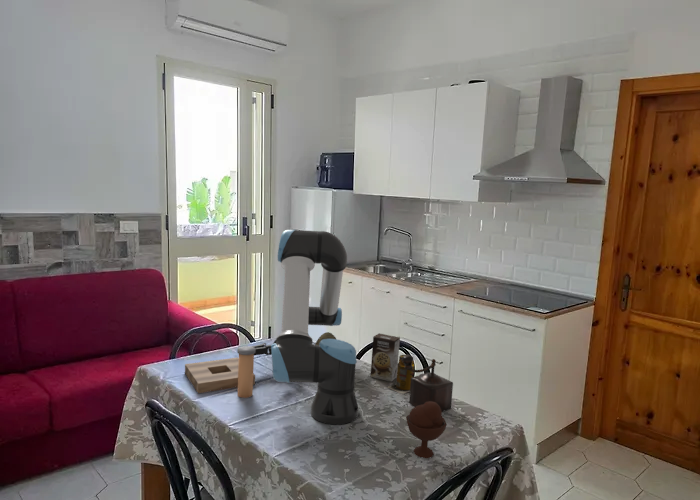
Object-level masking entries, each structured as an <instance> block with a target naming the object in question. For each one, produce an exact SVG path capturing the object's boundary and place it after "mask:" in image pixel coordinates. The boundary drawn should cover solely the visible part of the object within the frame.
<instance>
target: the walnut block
mask: <svg viewBox="0 0 700 500" xmlns="http://www.w3.org/2000/svg"><path fill="white" fill-rule="evenodd" d="M238 364H239V356H238V357H232V358H231V357H230V358H225V359H224V358H223V359H215V360H208V361H199V362H192V363H185V364H184V373H185V375H186V377H187V379H188V381H189V382H190V383H191V384H192V386H193V388H194V389H195V391H196V392H198V393H197V394H202V393H203V394H204V393H210V392H211V393H212V392H216V391H222V390H223V391H224V390H227V389H233V388H234V389H236V388H238ZM255 384H256V374H255V373H254V372H253V386H255Z"/></svg>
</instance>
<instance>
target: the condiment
mask: <svg viewBox="0 0 700 500" xmlns="http://www.w3.org/2000/svg"><path fill="white" fill-rule="evenodd" d="M405 355H406V354H400V355H399V356H398V367H397V377H396V381H395V382H396V384H393V385H389V386H387V388H388V389H390V390H392V391H394V392H397V393H398V394H401V395H404V394H406V393H410V386H411V377H414V373H415V372H412V371H410V370H406V369H405V368H404V367H405V364H404V363H403V362H402V358H403V356H405ZM414 358H415V357H413V362H412V366H413V368H412V369H414V370H415V364H414V361H415V359H414Z"/></svg>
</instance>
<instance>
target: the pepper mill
mask: <svg viewBox="0 0 700 500" xmlns="http://www.w3.org/2000/svg"><path fill="white" fill-rule="evenodd" d="M404 355H405V356H403V358H402V362H403V363H404V364H405V367H404V368H405V369H406V370H410V371H412V372H414V373H417V374H418V373H420V374H419V375H415V376H413V377H411V386H410V392H409V399H408V404H410V405H411V406H413V408H414V407H416V406H418V405H421V404H422V405H423V404H424V403H425V402H429V401H432V402H436V403H437V404H438V405H439V406H440V408H441V411H442V413H443V412H446V411H447V410H448V411H449V410H450V409H452V400H453V398H452V397H453V391H454V390H453V388H454V382H453V381H451V380H450V379H447V378H445V377H442V376H440V375H438V374H437V373H435V366H436V359H434V358H432V359H431V364H430V365H428V366H427V367H425V368H424V367H423V368H421V369H415V368H414V369H412V368H413V366H412V362H413V363H414V360H413V358H414V356H412V355H410V354H404ZM430 369H431V371H430V372H427V371H429V370H430Z"/></svg>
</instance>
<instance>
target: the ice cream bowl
mask: <svg viewBox="0 0 700 500" xmlns="http://www.w3.org/2000/svg"><path fill="white" fill-rule="evenodd" d="M442 413H443V412H442V411H441V408H440V406H439V405H438V404H437V403H436V402H432V401H429V402H425V403H424V404H423V405H422V404H421V405H418V406H416V407H414V406H413V408H412V409H410V412H409V414H408V415H407V416H405V417H406V424H407V427H408V429H409V432H410V434H411V435H412V436H414V438H417V439H419V440H420V441H421V442H420V445H419V446H416V447H415V448H413V449H414V450H413V453H414V455H415V456H417V457H418V458H421V457H423V458H422V459H430V457H431V458H432V457H434V454H435V453H434V451H433V449H432V448H430V447H429V446H428V443H429V442H431V441H434V440H435V441H436V440H437V439H438V438H439V437H440V436H441V435H442V434H443V433H444V432H445V430H446V428H447V423H448V422H446V419H445V418H444V416H443V414H442Z"/></svg>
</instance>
